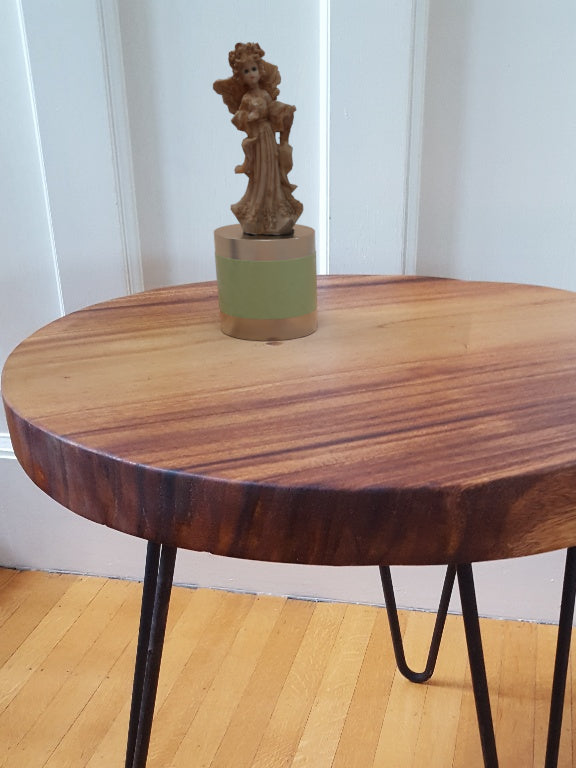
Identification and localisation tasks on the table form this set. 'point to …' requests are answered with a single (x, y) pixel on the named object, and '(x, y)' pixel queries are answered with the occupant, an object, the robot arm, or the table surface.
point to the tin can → (266, 283)
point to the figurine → (261, 142)
